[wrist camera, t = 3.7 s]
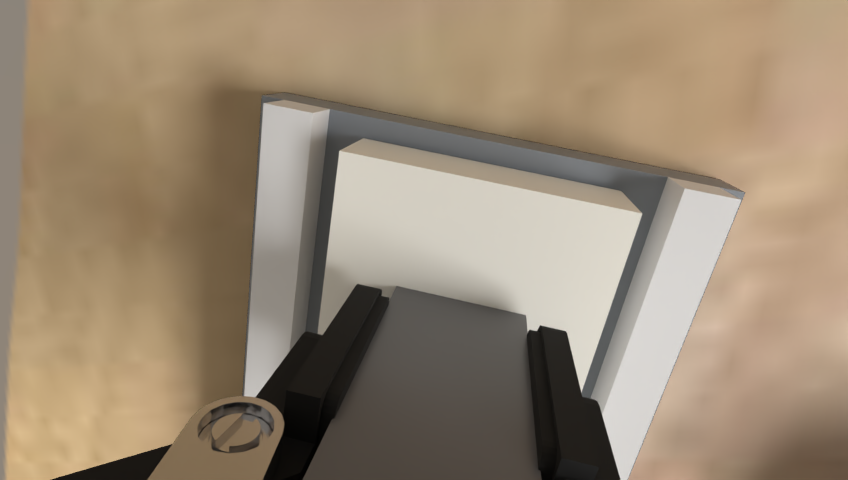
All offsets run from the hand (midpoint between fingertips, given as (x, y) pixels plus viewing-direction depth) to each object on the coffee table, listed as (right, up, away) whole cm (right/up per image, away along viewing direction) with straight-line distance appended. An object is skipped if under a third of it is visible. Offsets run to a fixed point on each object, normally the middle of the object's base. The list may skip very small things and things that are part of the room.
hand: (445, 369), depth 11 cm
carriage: (0, +1, +3) cm, 3 cm away
